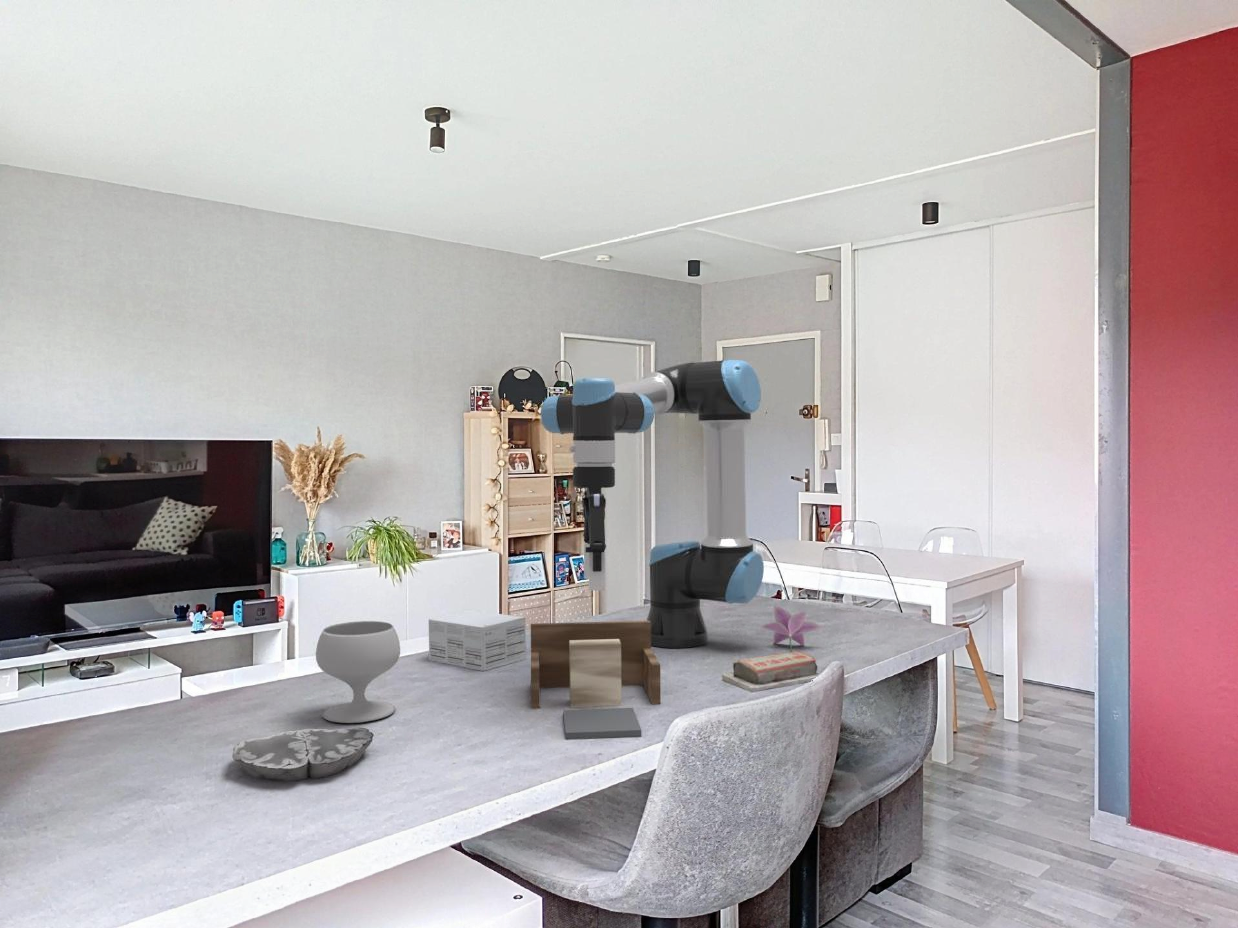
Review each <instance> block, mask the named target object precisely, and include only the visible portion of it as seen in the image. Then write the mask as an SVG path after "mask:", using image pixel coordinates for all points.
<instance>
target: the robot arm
mask: <svg viewBox="0 0 1238 928" xmlns="http://www.w3.org/2000/svg"><path fill="white" fill-rule="evenodd" d="M760 384H761V383H760V380H759V378H758V375H757V373H756V371H755V369H754V368H753V366H752V365H751V364H750V363H748V361H745V360H742V359H741V360H739V359H738V360H737V359H724V360H712V361H701V362H700V361H699V362H685V363H684V362H683V363H680V364H676V365H673V366H670V367H666V368H664V369H663V368H662V369H660V370H656V371H652V372H648V373H646V374H645V375H643V376H642V377H641V379H638V380H631V381H627V382H621V383H618V384H615V381H614V380H613V379H611V378H607V377H605V378H603V377H584V378H579V379H576V380H575V381H574V383H573V388H572V394H566V395H565V394H564V395H563V394H557V395H552V396H549V397H547V398H546V399H545V400H544V401H543V403H542V404H541V408H540V418H541V419H540V420H541V424H542V425H543V427H544V429H545V430H546V431H547V432H548V433H551V434H560V435H566V434H573V436H572V441H573V442H572V445H573V446H569V449H568V450H569V452H570V453H573V454H572V461H573V463H574V464H576V466H574V467H573V468H572V486H573V487H574V488H577V489H586V490H585V491H584V492H583V495H584V497H582V500H581V501H582V502H581V503H582V505H581V506H582V510H583V511H582V513H583V514H582V515H583V519H584V521H583V534H582V537H583V542H584V543H583V574H584V575H583V578H584V580H588V591H589V592H590V591H594V592H595V591H605V589H606V585H605V584H606V578H605V575H606V571H605V570H606V568H605V567H606V566H605V564H606V558H605V553H606V552H605V551H606V549H607V545H606V530H605V528H606V527H605V519H606V505H607V501H606V499H607V498H605V494H604V493H602V489H608V488H613V487H614V486H616V485H615V484H616V468H615V467H614V466H613V464H615V463H616V438H615V437H616V435H615V434H617V433H618V434H628V435H629V434H633V435H634V434H638V433H639V434H640V433H643V432H645V431H646V430H648V429H649V428H650V427H651V425H652V424H653V422H654V418H655V415H658V416H659V415H662V414H686V415H687V414H689V415H690V414H691V415H693V414H694V415H698V423H699V424H700V425H701V426H702V427H703V428H704V429H705V458H706V459H705V463H706V464H705V467H706V468H705V470H706V471H705V472H706V517H707V519H706V521H707V522H706V523H707V535H706V537H705V538H704V539H703V540H702V541H701V542H699V541H695V540H694V541H693V540H692V541H680V542H670V543H664V544H659V545H655V546H653V547H652V548H651V551H650V555H649V558H650V559H649V564H648V567H649V588H650V589H649V597H650V598H649V599H650V605H649V606H650V607H649V611H648V615H647V618H646V620H645V621H650V622H651V647H658V648H669V649H671V648H672V649H677V648H678V649H681V648H682V649H683V648H684V649H687V648H694V647H699V646H704V645H705V644H707V643H708V639H709V638H708V634H709V633H708V630H707V626H706V624H705V620H704V616H703V614H702V610H701V600H703V601H704V600H705V601H711V602H712V601H713V602H719V603H720V602H721V603H728V604H730V605H731V604H747V603H750V602H751V601H752V600H754V598H755V597H756V595H758V592H759V590H760V588H761V585H762V584H763V577H764V568H765V563H764V560H763V557H762V555H761V554H760V553H759V552H757V551H754V541H752V539H750V538H749V537H748V536H747V524H746V522H747V517H746V516H747V515H746V513H747V511H746V508H747V507H746V468H745V467H746V463H745V462H746V461H745V458H746V457H745V454H746V451H745V428H746V426H747V425H748V424H750V422H751V420H752V418H751V416H752V414H753V413H754V412H756V411H757V410H758V409H759V407H760V403H761V398H762V395H761V394H762V392H761V385H760Z"/></svg>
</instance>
